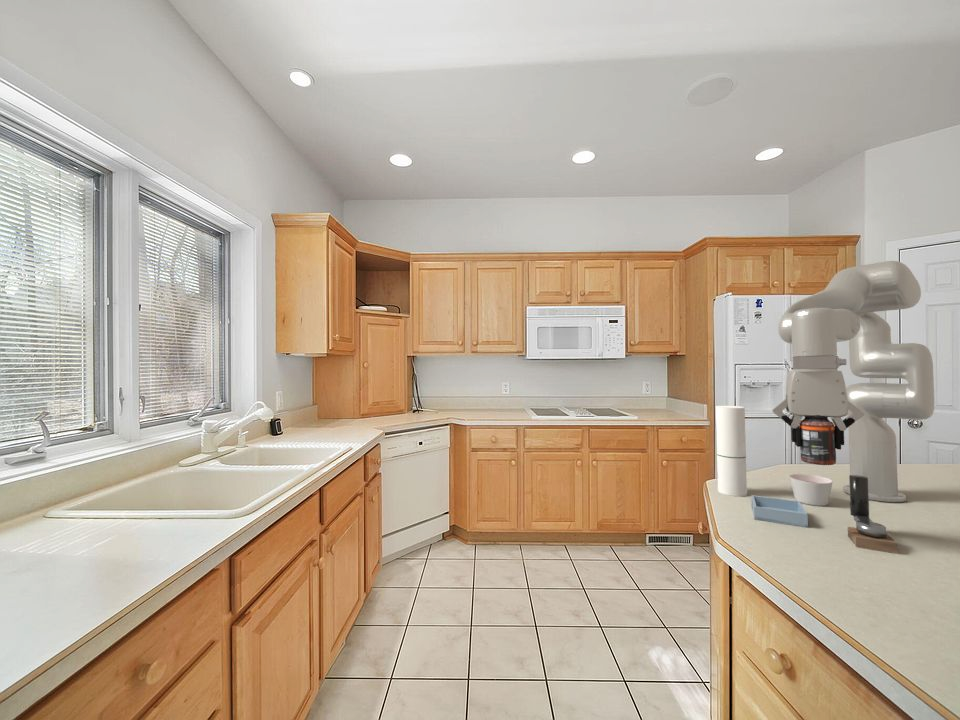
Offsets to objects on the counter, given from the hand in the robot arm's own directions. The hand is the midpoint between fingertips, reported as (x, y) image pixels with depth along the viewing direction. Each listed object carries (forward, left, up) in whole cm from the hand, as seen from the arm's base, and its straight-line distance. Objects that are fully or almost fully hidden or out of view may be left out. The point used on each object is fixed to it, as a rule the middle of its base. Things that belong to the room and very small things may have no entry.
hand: (817, 446), depth 86 cm
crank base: (+1, +8, -19) cm, 21 cm away
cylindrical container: (-25, -16, -19) cm, 35 cm away
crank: (-2, +8, -17) cm, 19 cm away
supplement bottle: (0, 0, -4) cm, 4 cm away
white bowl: (-26, +2, -19) cm, 32 cm away
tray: (-9, -7, -19) cm, 22 cm away
